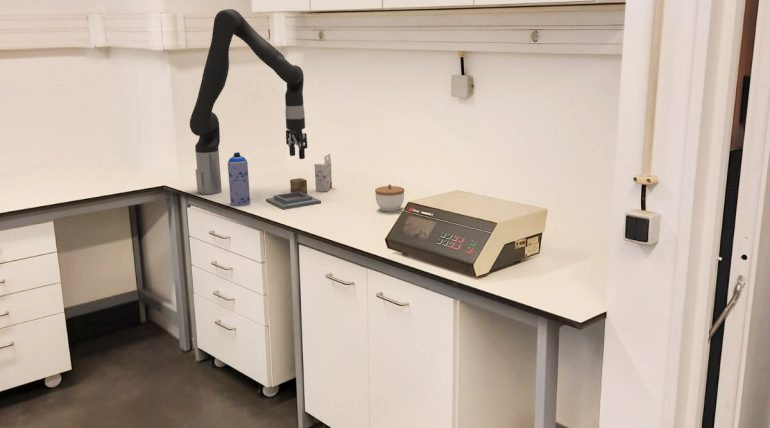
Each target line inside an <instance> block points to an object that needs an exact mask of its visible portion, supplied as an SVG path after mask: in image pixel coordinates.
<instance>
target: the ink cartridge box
mask: <svg viewBox="0 0 770 428" xmlns="http://www.w3.org/2000/svg"><path fill="white" fill-rule="evenodd" d="M313 165H314V178H315V182H314V183H315V192H321V193H328V191H330V190H331V189H332V187H333V181H332V180H333V179H332V178H333V177H332V175H333V174H332V160H331V153H328V154H326V155H325V156H324V159H323V160H321V159H320V160H319V161H317V162H316V163H314V164H313Z"/></svg>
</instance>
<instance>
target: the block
mask: <svg viewBox="0 0 770 428" xmlns="http://www.w3.org/2000/svg"><path fill="white" fill-rule="evenodd" d="M289 185H290V186H289V187H290V193H292V192H299V191H300V192H302V193H304V194H307V195H308V181H307V179H304V178H302V177H300V178H293V179H290V180H289Z"/></svg>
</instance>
